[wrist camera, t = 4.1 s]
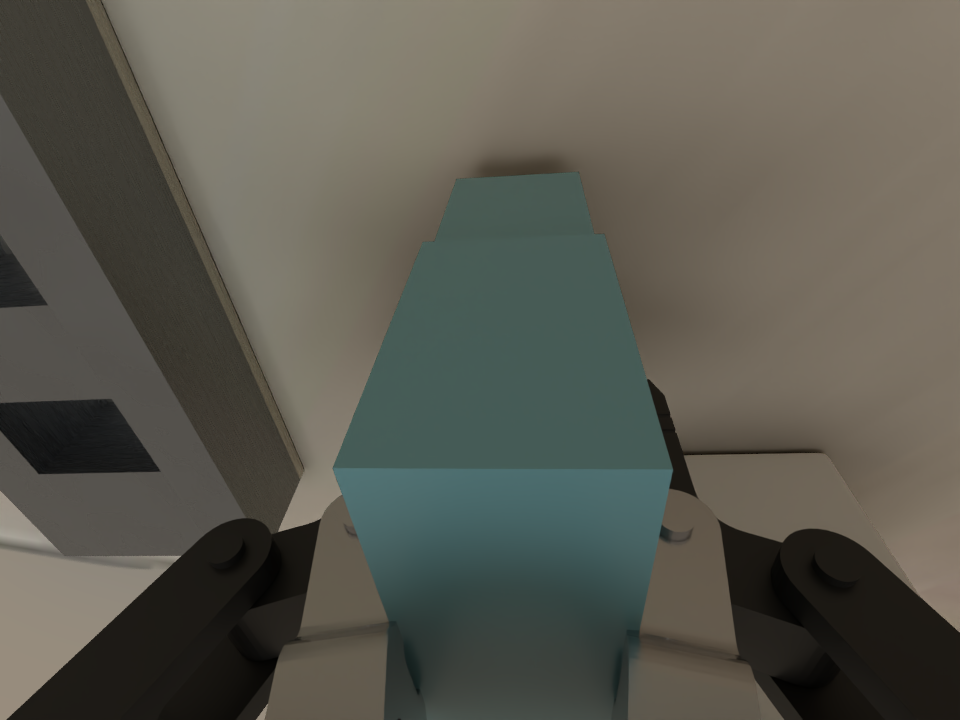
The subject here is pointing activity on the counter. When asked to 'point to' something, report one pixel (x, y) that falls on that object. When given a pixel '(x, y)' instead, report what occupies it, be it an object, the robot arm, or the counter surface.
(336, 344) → the counter surface
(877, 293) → the counter surface
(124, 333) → the grey socket block
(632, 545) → the teal elongated block
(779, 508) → the milk carton
